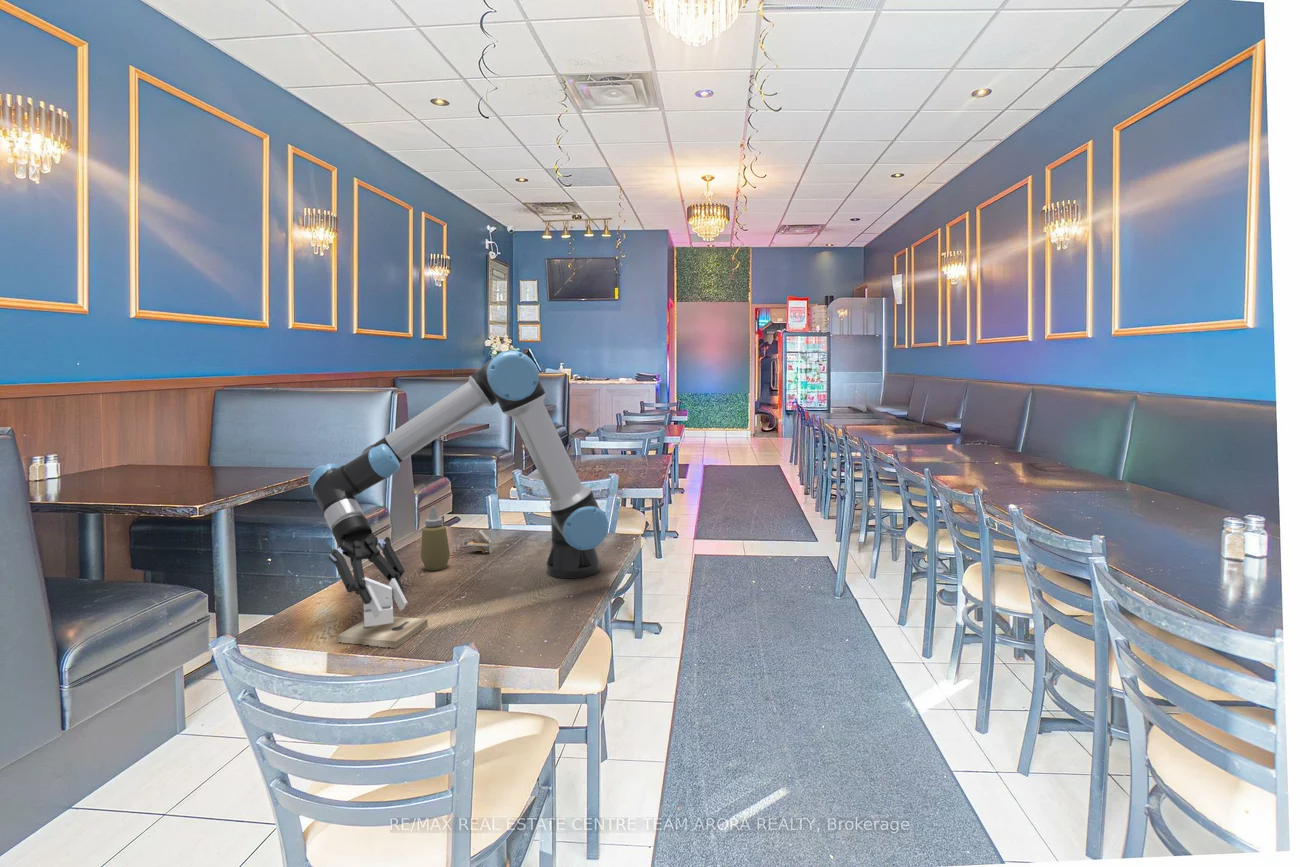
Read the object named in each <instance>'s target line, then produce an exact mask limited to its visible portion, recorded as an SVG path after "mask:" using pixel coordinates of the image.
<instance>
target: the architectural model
mask: <svg viewBox="0 0 1300 867" xmlns="http://www.w3.org/2000/svg"><path fill="white" fill-rule="evenodd" d="M473 533H474V537H473V541H472V540H471V541H470V542H469V541H468V542H467V543H466V546H472V547H473V546H475V550H476V551H482V552H481V553H483V554H484V553H485V551H488V552H487V553H490V554H492V553H493V542H492V530H491V529H490V530H489V529H488V530H487V529H485V530H484V529H474V532H473ZM476 551H475V552H476ZM491 552H492V553H491ZM485 554H486V553H485Z"/></svg>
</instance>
